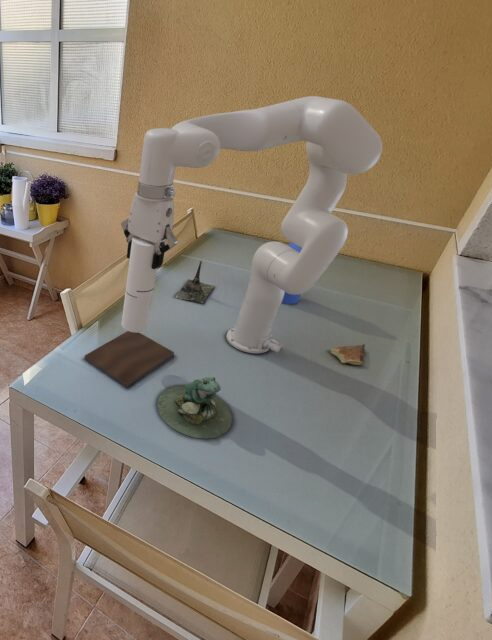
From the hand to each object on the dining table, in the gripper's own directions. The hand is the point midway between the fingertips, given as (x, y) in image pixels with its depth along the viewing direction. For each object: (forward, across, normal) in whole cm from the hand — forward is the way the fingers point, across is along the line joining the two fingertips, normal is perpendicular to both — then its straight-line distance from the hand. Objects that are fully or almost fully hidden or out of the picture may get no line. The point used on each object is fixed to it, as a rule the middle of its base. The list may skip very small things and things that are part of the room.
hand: (143, 261), depth 104 cm
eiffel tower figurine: (+31, +10, -48) cm, 58 cm away
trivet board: (+31, 0, 0) cm, 31 cm away
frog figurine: (+31, -25, +4) cm, 40 cm away
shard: (+31, -40, -50) cm, 71 cm away
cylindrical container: (+19, 0, 0) cm, 19 cm away
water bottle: (+31, -14, -69) cm, 77 cm away
